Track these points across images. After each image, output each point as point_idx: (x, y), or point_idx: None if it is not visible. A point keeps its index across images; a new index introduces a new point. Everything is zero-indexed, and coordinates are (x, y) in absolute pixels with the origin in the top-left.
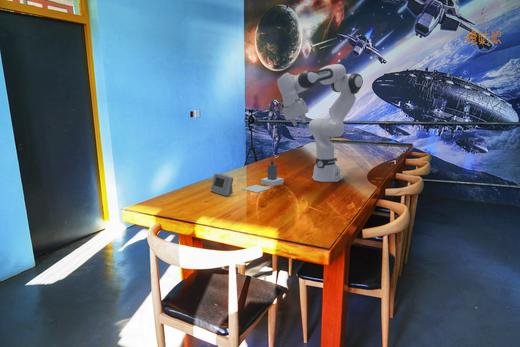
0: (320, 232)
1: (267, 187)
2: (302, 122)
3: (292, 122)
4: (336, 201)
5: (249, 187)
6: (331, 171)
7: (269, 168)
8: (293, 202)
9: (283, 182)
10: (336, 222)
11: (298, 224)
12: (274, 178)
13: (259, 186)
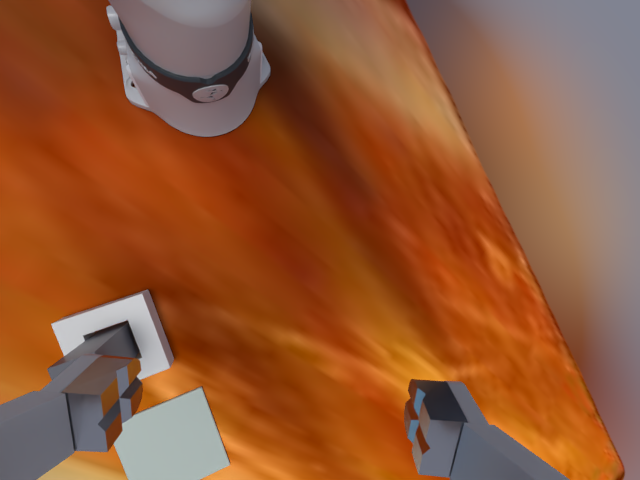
0: (576, 446)
1: (186, 397)
2: (413, 432)
3: (32, 473)
4: (453, 271)
5: (139, 470)
6: (256, 68)
7: None
8: (394, 394)
9: (147, 290)
10: (557, 381)
11: None
12: (130, 343)
13: (148, 422)
